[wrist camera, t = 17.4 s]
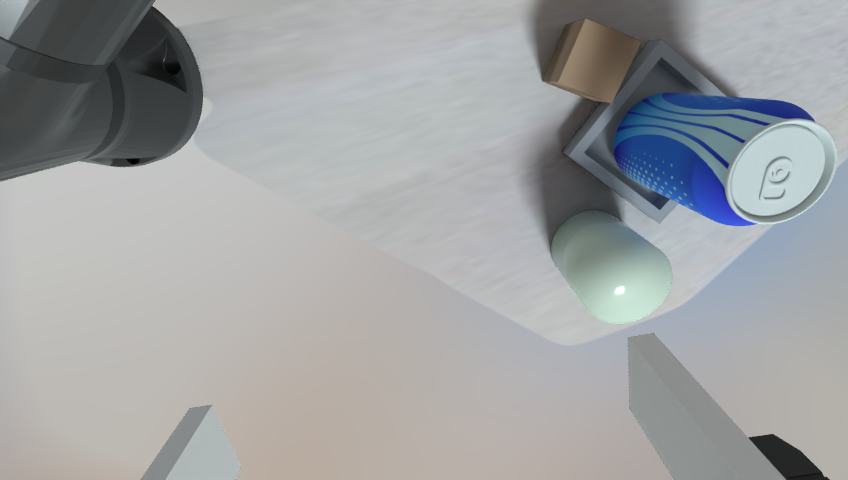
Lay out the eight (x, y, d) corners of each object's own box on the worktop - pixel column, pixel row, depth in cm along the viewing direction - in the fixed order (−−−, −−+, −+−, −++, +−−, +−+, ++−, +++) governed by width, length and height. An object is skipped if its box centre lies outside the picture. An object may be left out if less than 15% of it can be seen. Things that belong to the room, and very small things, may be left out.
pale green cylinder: (535, 255, 46) (561, 295, 38) (585, 195, 44) (624, 224, 36) (590, 291, 48) (627, 338, 40) (641, 236, 46) (691, 273, 37)
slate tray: (561, 151, 42) (568, 155, 40) (648, 41, 39) (661, 39, 37) (648, 216, 45) (659, 223, 43) (738, 118, 41) (754, 120, 39)
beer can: (589, 146, 42) (684, 186, 27) (654, 72, 39) (799, 71, 24) (648, 197, 43) (767, 261, 29) (714, 129, 41) (882, 161, 26)
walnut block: (541, 81, 40) (558, 82, 35) (565, 25, 38) (585, 18, 34) (589, 99, 41) (611, 103, 36) (615, 45, 39) (641, 41, 34)
